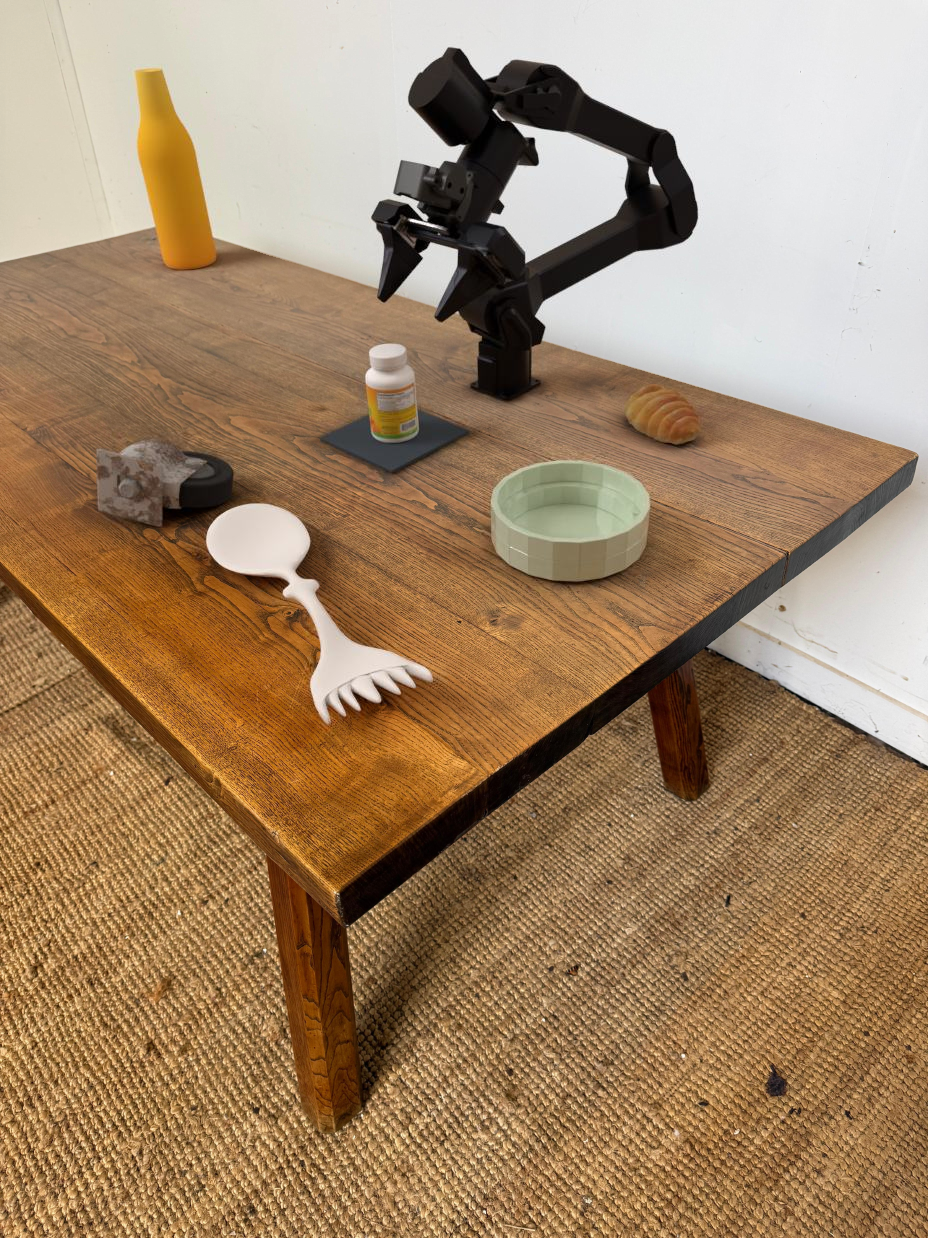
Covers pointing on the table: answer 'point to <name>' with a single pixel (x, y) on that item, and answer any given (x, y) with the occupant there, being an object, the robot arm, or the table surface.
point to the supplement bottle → (391, 395)
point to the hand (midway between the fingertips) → (408, 309)
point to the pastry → (662, 415)
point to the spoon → (307, 605)
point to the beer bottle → (172, 177)
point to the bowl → (569, 520)
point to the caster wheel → (159, 480)
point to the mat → (394, 455)
